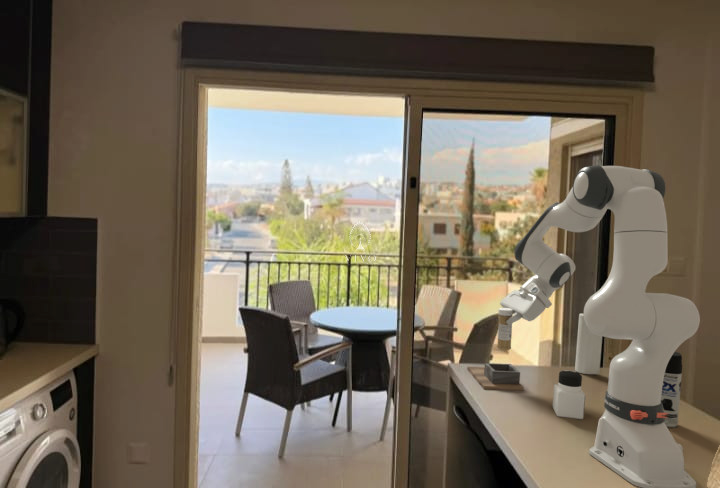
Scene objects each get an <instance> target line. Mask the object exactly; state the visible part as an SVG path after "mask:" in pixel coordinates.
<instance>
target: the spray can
mask: <svg viewBox="0 0 720 488" xmlns="http://www.w3.org/2000/svg"><path fill="white" fill-rule="evenodd" d="M682 360H683V357H682V354H681V353H680V352H678V351H675V352H674V353H673V355H672V356H671V358H670V360H669V362H668V364H667V367H666V370H665V373H664V379H663V386H662V394H661V402H662V404H663V408H664V413H668V414H667V415H665V417H668V418H665V425H666V426H667V428H668V429H669V428H671V429H673V428H677V427H678V422H679V413H680V412H679V410H680V400H681V399H680V398H681V388H682V376H683V361H682Z"/></svg>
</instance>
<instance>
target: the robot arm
mask: <svg viewBox="0 0 720 488" xmlns="http://www.w3.org/2000/svg"><path fill="white" fill-rule="evenodd" d="M665 194H666V183H665V180H664V177H663V176H662V175H661V174H660V173H659V172H657V171H654V170H649V169H639V168H635V167H628V166H627V167H626V166H623V165H622V166H621V165H598V164H597V165H595V164H594V165H590V166H584V167H583V168H581V169H579V171H578V172H577V173H576V175H575V177H574V180H573V182H572V187H571V189H570V190H569V192H568V194H567V196H566V197H565V199H564V200H563V201H562V202H555V203H552V204H551V205H549V207H547V208H546V209H545V210H544V211H543V213H542V214H541V215H540V216H539V217H538V218H537V220H536V221H535V222H534V223H533V225H532V226H531V228H529V230H528V231H527V232H526V234H525V235H524V236H523V237H522V239H520V240H519V241H518V243H517V244H516V245H515V247H514V250H513V251H514V259H515V261H517V262H518V263H520V265H522V266H525V267H526V268H527V269H528V270H530V272H532V273H533V274H534V275H533V276H530V277H529V278H528V279H527V280H526V281H525V282H524V283H523V284H522V285H521V286H520V287H519V288H520V289H514V290H513V291H511V292H510V293H508V294H507V295H506V296H505V297H504V298H503V299H501V300H500V303H499V305H500V306H501V308H510V309H512V310H513V315H512V317H510V318H507V320H505V322H506V323H507V324H508V325H511V324H512V325H513V324H514V323H515V322H518V321H519V320H521V319H523V320H525V321H528V322H532V321H534V320H536V319H537V318H538V317H539V316H540V315H541V314H543V313H544V311H546V309H549V308H550V307H551V306H552V302H551V300H550V298H551V297H552V295H553V294H554V292H555V291H557V290H558V289H560V288H561V287H562V286H564V285H565V284H566V283H567V282H568V281H569V279H570V278H571V276H572V275H573V273H574V272H575V271H576V264H575V262H574V261H573V259H572V258H571V257H570V256H569V255H567V254H564V253H558V252H557V251H555V250H554V249H553V248H552V247H550V246H549V245H548V244H546V243H545V241H544V239H543V237H544V236H545V235H546V234H547V232H548V231H549V230H550V229H551V228H552V227H555V228H559V229H563V230H565V231H567V232H571V233H572V232H573V233H584V232H588V231H590V230H593V229H594V228H595V227H597V226H598V224H599V223H600V221H601V220H602V219H603V217H604V216H605V214H606V212H607V210H610V211H611V212H612V213H613V215H614V216H613V217H614V223H613V257H612V263H611V264H612V265H611V268H610V269H611V270H610V272H609V275H608V278H607V279H606V280H605V282H604V283H603V285H602V286H601V288H600V289H598V290H597V291H596V292H595V293H594V294H592V295H590V296H589V298H588V299H587V301H586V302H585V304H584V307H583V314H584V320H585V323H586V325H587V327H588V328H589V329H590V331H591V332H592V333H594V334H596V335H600V336H602V337H605V338H609V339H613V340H632V341H631V343H630V344H629V346H628V347H627V348H626V349H625V350H623V351H622V352H620V353H619V354H616V355H614V357H613V358H612V359H611V361H610V364H609V372H608V384H607V390H606V392H605V395H604V397H603V398H604V404H603V406H604V408H605V409H604V411H603V414H602V415H601V417H600V418H599V419H598V424H597V428H596V434H595V440H594V444H593V445H594V446H591V447H590V448H589V450H588V451H589V452H588V454H589V455H590V456H591V457H593V458H594V459H596V460H598V461H599V462H600V463H602V464H603V465H604V466H606V467H607V468H609V469H610V470H612V471H614V473H616V474H617V475H619V477H622V478H623V479H624V480H626V481H628V482H629V484H632V486H633V485H634V486H636V487H639V488H697V487H698V486H697V483H698V482H696V480H695V479H694V478H693V477H692V476H691V475H690V474H689V473H688V472H687V471H686V470H685V459H684V453H683V452H684V449H683V446H682V445H681V444H680V443H677V442H676V440H675V438H674V437H673V435H672V433H671V431H670V430H669V427H667V426H666V425H665V418H668V417H665V415H667V414H668V413H664V408H663V404H662V402H661V394H662V386H663V379H664V373H665V370H666V367H667V364H668V362H669V360H670V358H671V356H672V355H673V353H674V352H676V350H677V349H678V348H679V347H680V346H681V345H682V344H683V343H684V342H685V341H686V340H688V339H690V338H691V337H693V336H694V335H696V332H697V331H698V329H699V327H700V321H701V317H700V312H699V310H698V308H697V306H696V305H695V303H694V302H693V301H692V300H690V299H689V298H686V297H684V296H680V295H675V294H672V293H671V294H670V293H664V292H662V293H660V292H659V293H658V292H656V293H655V292H646V290H647V286H648V284H649V282H650V280H651V279H652V278H653V277H654V276H655V277H656V276H657V275H658V274H660V273H662V272H663V271H664V270H665V269H666V268H667V265H668V262H669V261H668V259H669V258H668V251H669V249H668V220H667V219H668V218H667V211H666V206H665V201H664V198H665ZM498 319H499V316H498Z"/></svg>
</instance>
